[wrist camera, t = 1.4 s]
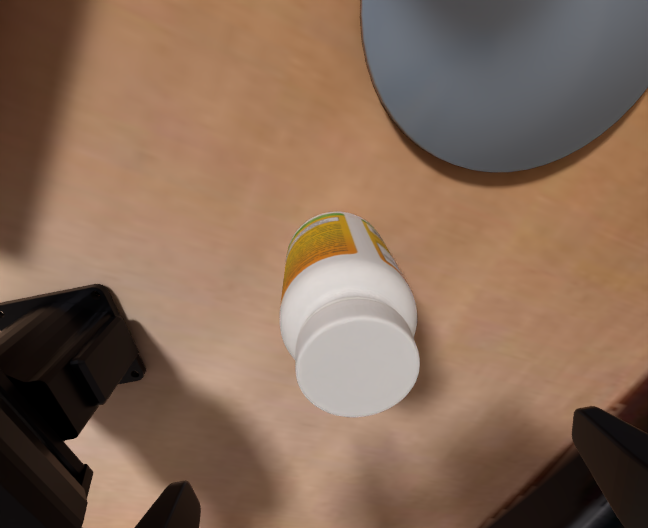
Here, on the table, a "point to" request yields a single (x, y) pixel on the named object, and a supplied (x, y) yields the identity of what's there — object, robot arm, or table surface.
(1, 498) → the robot arm
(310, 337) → the supplement bottle
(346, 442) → the table surface
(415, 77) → the slate dish
